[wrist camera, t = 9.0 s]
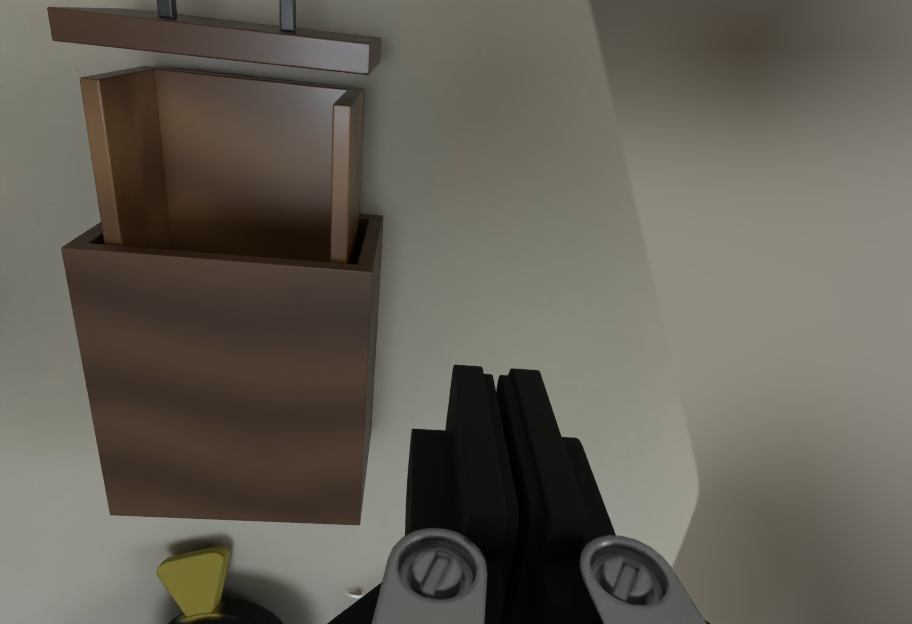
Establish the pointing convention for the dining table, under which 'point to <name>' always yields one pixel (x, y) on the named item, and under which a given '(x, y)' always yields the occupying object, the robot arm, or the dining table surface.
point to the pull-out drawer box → (224, 136)
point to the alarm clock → (207, 590)
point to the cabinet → (228, 378)
